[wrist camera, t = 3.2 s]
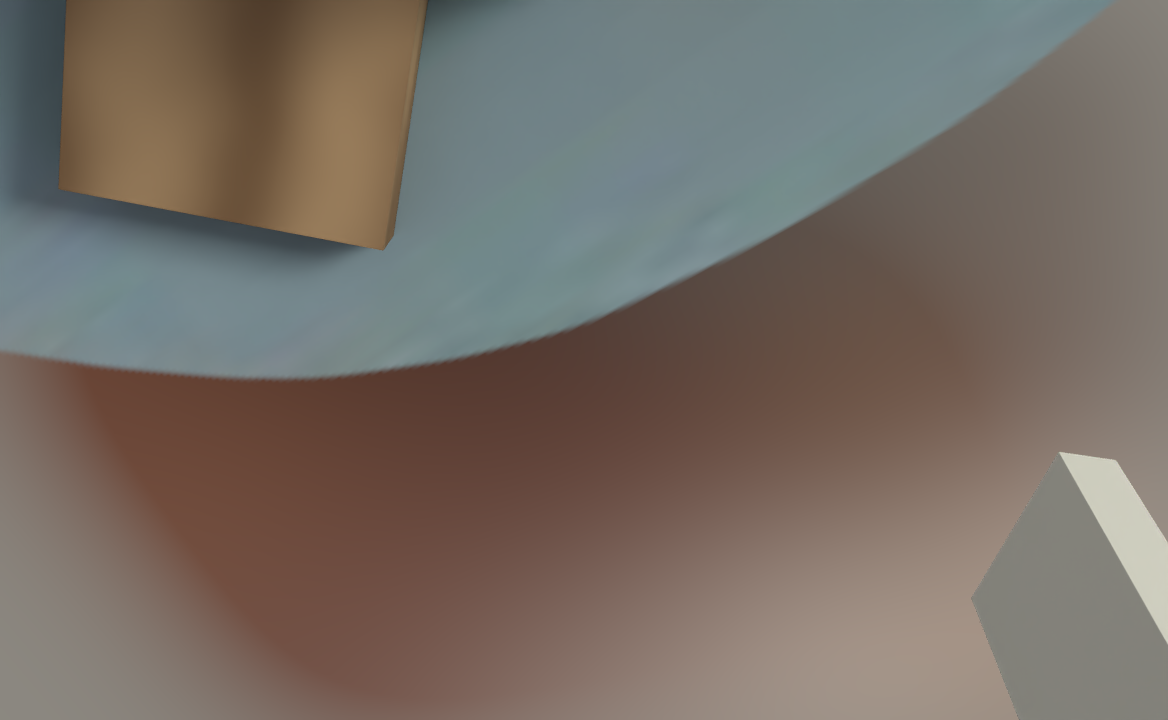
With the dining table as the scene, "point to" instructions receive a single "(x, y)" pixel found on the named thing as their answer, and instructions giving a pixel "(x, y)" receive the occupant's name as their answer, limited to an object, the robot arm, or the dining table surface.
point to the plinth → (244, 109)
